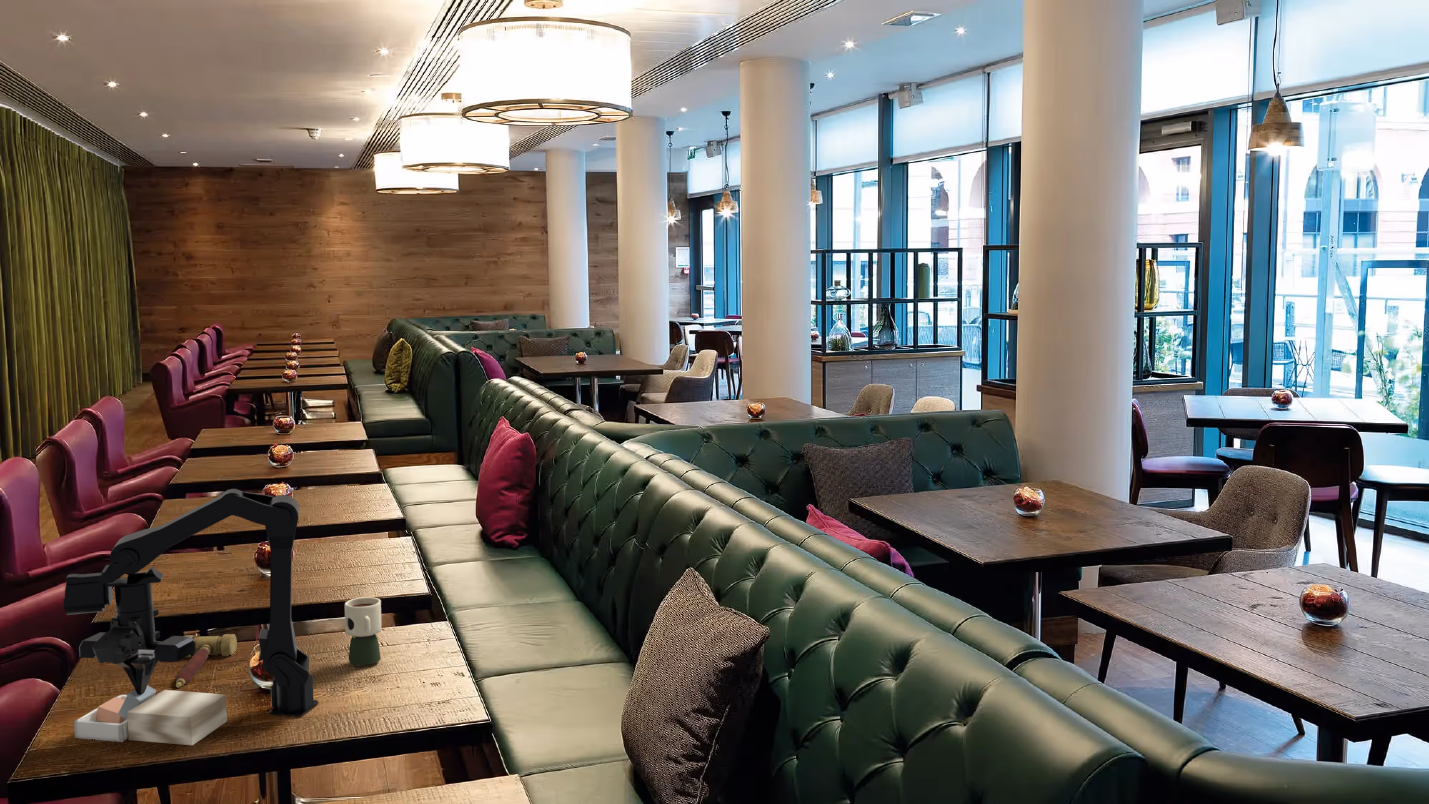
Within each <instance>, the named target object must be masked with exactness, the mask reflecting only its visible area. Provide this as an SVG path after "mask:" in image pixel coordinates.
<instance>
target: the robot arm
mask: <svg viewBox="0 0 1429 804" xmlns="http://www.w3.org/2000/svg"><path fill="white" fill-rule="evenodd" d="M299 515H300V507H299V504H298V501H296V499H294V498H293V497H292V496H289V495H285V494H281V495H276V496H272V495H268V494H264V493H254V492H248V491H243V490H240V489H237V488H231V489H227V490H226V491H224V493H222V494H220V495H219V496H217V497H215V498H212V499H211V500H208V501H207V502H204V503H203V504H201V505H199V506H197V507H195V508H193V509H191V510H190V511H187V512H185V513H183V514H181V515H179V516H177V517H175V518H173V519H171V520H169V521H167V522H166V523H163V524H161V525H159V526H155V527H149V528H146V529H145V528H144V529H142V530H139V531H135V532H132V533H130V534H126V535H124V536H123V537H121V538H120V539H118V541H117V542H116V544H115V545H114V547H113V548H112V549H111V551H110V554H109V564H106V565H105V566H104V568H103V569H102V571H101V572H96V573H85V574H83V573H82V574H81V573H70V574H68V575H67V576H66V577H65V586H64V588H65V589H64V598H63V609H64V612H65V615H66V616H70V615H79V614H82V615H83V614H90V613H91V614H92V613H101V612H105V611H106V608H107V606H112V604H113V599H114V602H115V611H116V613H115V614H116V615H115V616H113V617H111V621H110V629H109V630H108V631H107V632H101V631H100V632H98V633H96V634H94V635H92V636H89V637H88V638H85V639H82V641H81V643H80V645H79V647H78V651H79V658H81V659H82V658H83V659H84V658H85V659H94V658H95V659H96V660H97V662H98V663H99V664H104V663H105V664H106V663H107V664H108V663H109V664H114V665H117V666H119V667H121V668H122V669H123V670H124V672H125V673H126V674H127V676H128V679H129V681H130V683H131V684H132V686H133V689H134V690H136V692H137V694H138V695H142V694H143V693H144V692H145V690H146V688H147V685H148V686H149V683H150V680H151V677H152V675H153V672H154V670H155V668H156V666H157V664H158V663H159V662H160V663H161V662H162V663H163V662H164V663H176V662H179V661H181V660H183V659H184V658H185V657H186V656H188V655H190V654H192V653H193V652H195V651H196V648H195V641H194V639H192V638H191V637H186V636H187V635H183V636H181V635H172V636H170V637H169V638H166V639H164V640H163V641H157V639H159V638H161V631H158V630H155V629H156V627H155V618H154V617H158V615H159V609H158V608H154V600H153V589H152V584H153V583H154V584H156V583H161V582H162V580H163V578H164V573H162V572H161V571H159V570H157V569H156V568H155V566H152V565H151V566H150V568H149V569H148V570H147V571H141V570H143V569H144V568H145V567H147V566H149V564H151V563H153V561H155V560H156V559H157V558H159V557H160V556H161V555H162V554H163V553H164V552H166V551H167V550H168V549H170V548H171V547H173V546H175V545H177V544H179V543H181V542H183V541H185V540H186V539H188V538H190V537H192V536H194V535H197V533H199V532H202V531H204V530H206V529H207V528H209V527H211V526H212V527H213V526H214V525H215V524H217V523H219V522H221V521H223V520H225V519H227V518H228V517H231V516H235V517H239V518H242V519H243V520H247V521H250V522H251V523H254V524H257V525H262V526H264V527H265V532H266V537H267V543H268V546H269V550H270V565H269V566H270V571H269V573H270V574H269V575H270V576H269V577H270V578H269V580H270V582H269V584H270V585H269V625H268V629H266V628H261V629H260V631H259V636H258V645H259V654H258V660H257V661H258V662H261V663H262V668H263V670H264V671H265V672H266V673H267V674H269V675H270V676H273V678H272V685H270V700H271V707H272V708H271V709H270V710H269V711H268V714H269V715H275V716H287V717H289V716H290V717H303V716H304V715H305V714H307V713H308V712H310V710H312V709H313V708H314V707H316V706H317V705H318V704H319V700H317V699H316V700H315V699H314V698H315V697H314V677H313V674H310V656H309V655H308V654H307V653H305V652H303V651H302V650H301V649H299V648H298V645H297V640H296V635H295V634H296V633H295V629H294V626H293V621H292V620H293V619H292V582H293V581H292V574H293V573H292V572H293V570H292V568H293V566H292V565H293V547H294V542H295V539H296V534H297V527H298V523H299ZM124 575H126V576H127V577H123V576H124ZM121 577H123V578H121ZM113 587H114V590H113ZM113 591H114V594H113ZM113 595H114V598H113ZM186 658H187V657H186Z"/></svg>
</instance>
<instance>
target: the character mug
mask: <svg viewBox="0 0 1429 804" xmlns="http://www.w3.org/2000/svg"><path fill="white" fill-rule="evenodd" d="M381 606H382V600H381V599H380V598H377V597H372V596H365V597H357V598H352V599H349V600H347V601H345V602H344V629H345V630H344V631H345V634H346V635H347V636H351V639H350V642H349V652H348V662H349V665H351V666H355V667H362V666H365V667H367V666H368V665H370V664H375V663H377V662H380V660H381V658H382V657H381V653H380V652H381V650H380V644H379V639H378V636H377V635H376V634H379V633H380V632H381V631H382V607H381Z"/></svg>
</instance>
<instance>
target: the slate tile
mask: <svg viewBox="0 0 1429 804" xmlns="http://www.w3.org/2000/svg"><path fill="white" fill-rule="evenodd" d="M156 694H157V690H156V689H155V688H153V687H152V686H150V685H149V684H148V685H147V688H146V690H145V692H144V693H143V694H142V695H138V694H137V692H136V690H135V689H134V690H131V691H130V692H128V693H127V694H126V695H127V697H126V699H125V701H124V703H123V705H122V707H121V709H120V711H119V713H118V714H119V715H121V716H122V717H124V718H126V719H127V712H128V711H130V710H132V709H133V708H135V707H137V706H138V705H140V704H142V703H143V702H145V701H147V700H148V699H150V698H152V697H153V696H155V695H156Z"/></svg>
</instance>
